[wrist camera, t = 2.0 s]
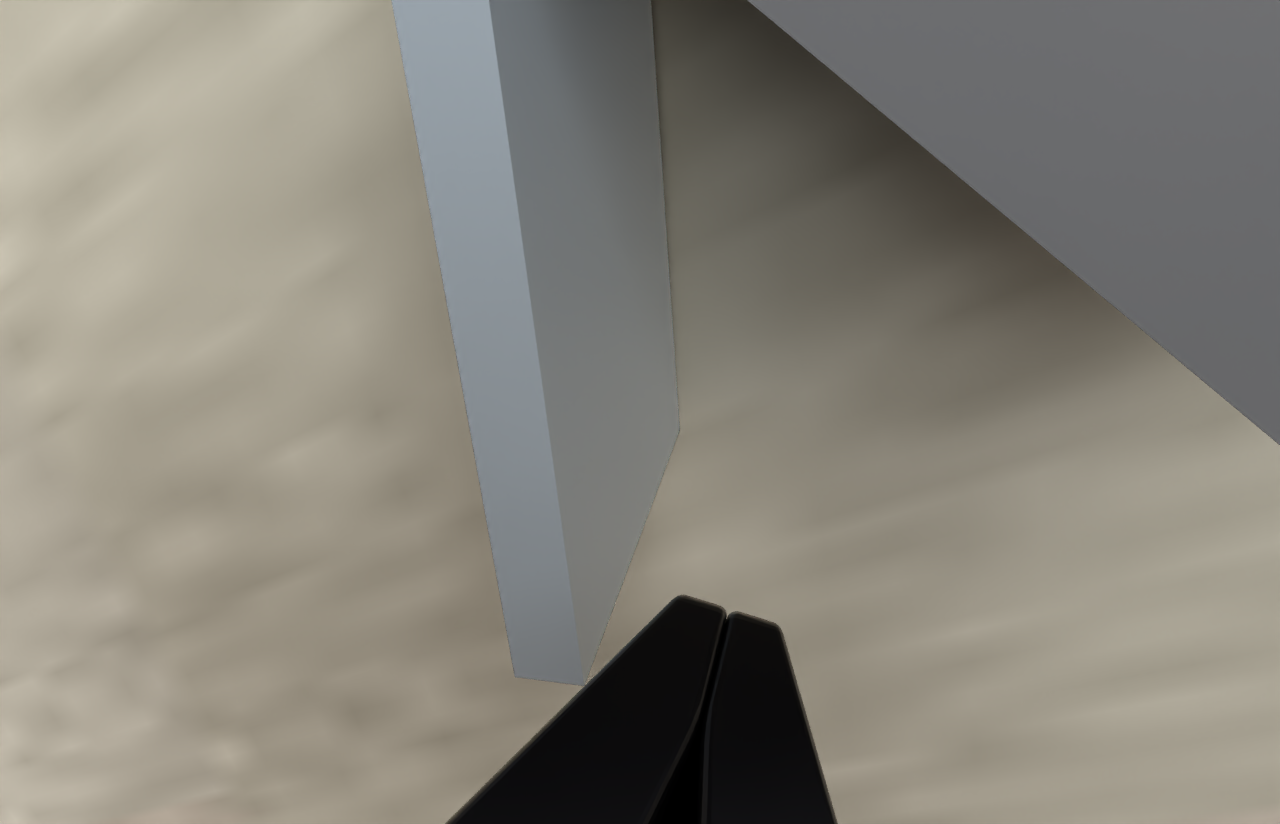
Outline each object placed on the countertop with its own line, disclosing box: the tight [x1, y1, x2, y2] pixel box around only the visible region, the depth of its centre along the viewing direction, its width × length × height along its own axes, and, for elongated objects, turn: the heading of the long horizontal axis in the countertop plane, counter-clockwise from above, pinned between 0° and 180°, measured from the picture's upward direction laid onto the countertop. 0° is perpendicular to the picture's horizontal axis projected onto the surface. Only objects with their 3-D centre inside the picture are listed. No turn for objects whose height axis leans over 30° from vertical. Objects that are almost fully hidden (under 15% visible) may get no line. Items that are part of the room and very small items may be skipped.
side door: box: [392, 0, 680, 686], centre depth 13 cm, size 1×9×5 cm, turn 4°
